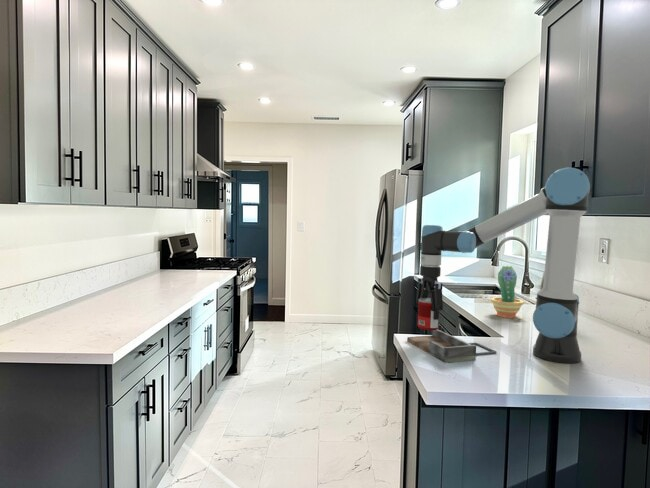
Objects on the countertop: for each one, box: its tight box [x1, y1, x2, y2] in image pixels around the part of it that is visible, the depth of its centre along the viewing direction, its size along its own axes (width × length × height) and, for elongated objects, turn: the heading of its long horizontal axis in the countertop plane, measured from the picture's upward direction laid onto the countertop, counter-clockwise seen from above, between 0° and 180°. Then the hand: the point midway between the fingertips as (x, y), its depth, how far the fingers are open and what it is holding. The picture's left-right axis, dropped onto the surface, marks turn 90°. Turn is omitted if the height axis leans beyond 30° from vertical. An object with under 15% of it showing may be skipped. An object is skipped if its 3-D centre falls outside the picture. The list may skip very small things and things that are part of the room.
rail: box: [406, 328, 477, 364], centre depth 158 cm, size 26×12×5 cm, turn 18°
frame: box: [468, 342, 497, 356], centre depth 159 cm, size 12×10×1 cm
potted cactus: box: [490, 265, 525, 319], centre depth 216 cm, size 15×15×25 cm
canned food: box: [416, 297, 440, 331], centre depth 165 cm, size 8×8×11 cm
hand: (428, 324), depth 165 cm, fingers closed on canned food, 8 cm apart
